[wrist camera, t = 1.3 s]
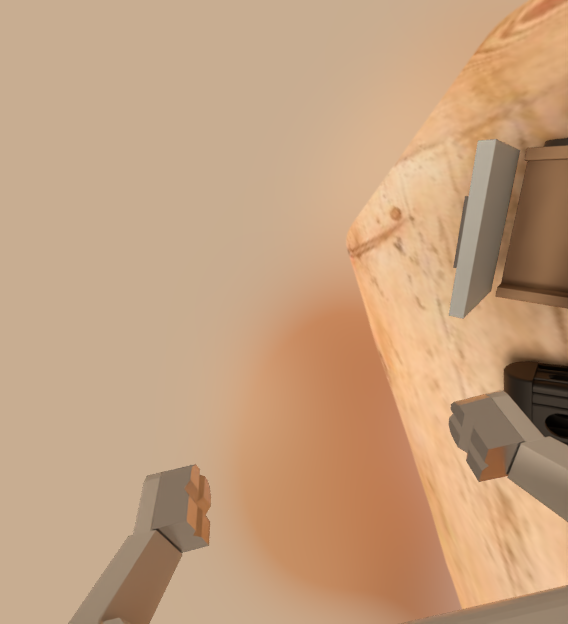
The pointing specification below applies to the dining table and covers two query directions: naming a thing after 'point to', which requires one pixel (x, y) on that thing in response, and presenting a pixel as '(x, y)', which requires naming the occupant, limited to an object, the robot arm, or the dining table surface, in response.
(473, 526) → the dining table surface
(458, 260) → the tailgate
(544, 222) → the tray
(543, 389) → the end cap
